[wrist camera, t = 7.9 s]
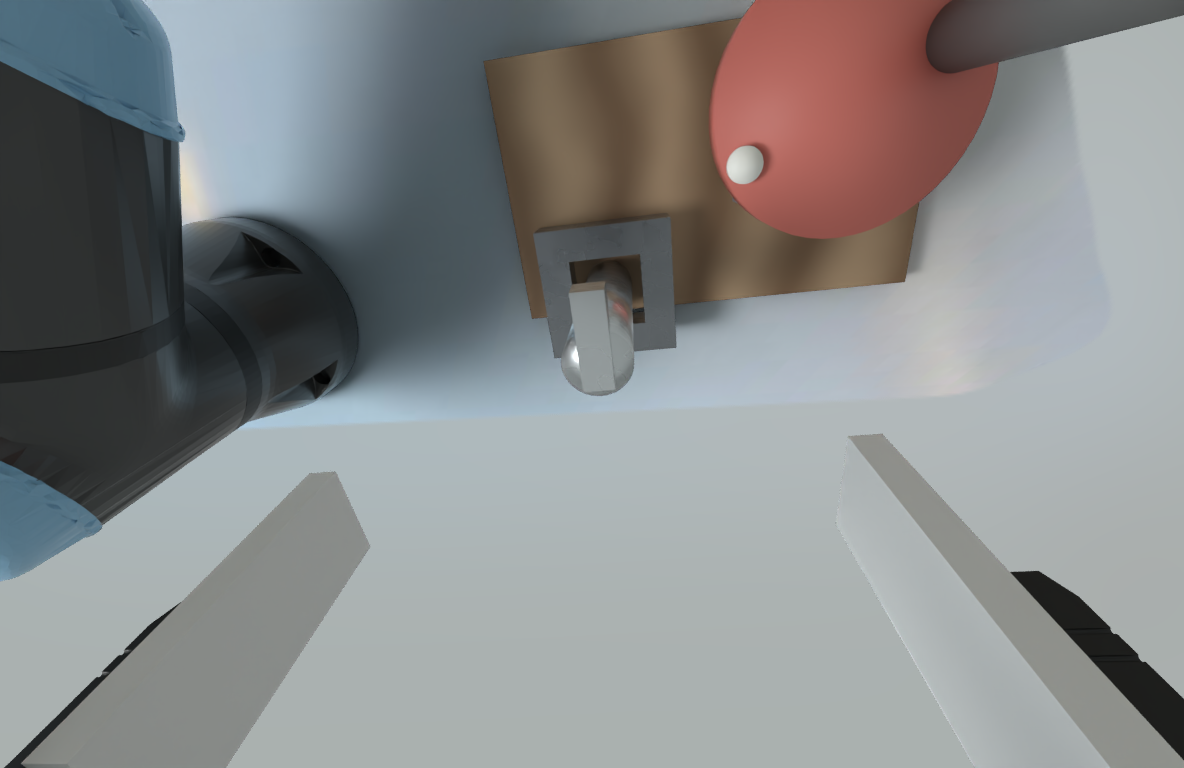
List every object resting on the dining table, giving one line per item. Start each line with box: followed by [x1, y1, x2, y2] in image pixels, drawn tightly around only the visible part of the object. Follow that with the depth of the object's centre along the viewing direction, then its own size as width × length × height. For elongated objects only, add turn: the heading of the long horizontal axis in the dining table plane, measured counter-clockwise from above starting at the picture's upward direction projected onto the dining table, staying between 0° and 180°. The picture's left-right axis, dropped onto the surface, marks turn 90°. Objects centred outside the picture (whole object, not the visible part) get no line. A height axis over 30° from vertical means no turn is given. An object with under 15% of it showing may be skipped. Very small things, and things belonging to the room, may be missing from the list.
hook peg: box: [561, 261, 634, 396], centre depth 25 cm, size 3×5×15 cm, turn 7°
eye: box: [533, 213, 676, 358], centre depth 31 cm, size 9×9×2 cm
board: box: [484, 18, 919, 319], centre depth 28 cm, size 26×16×4 cm, turn 97°
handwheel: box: [708, 0, 1184, 239], centre depth 19 cm, size 13×13×12 cm
